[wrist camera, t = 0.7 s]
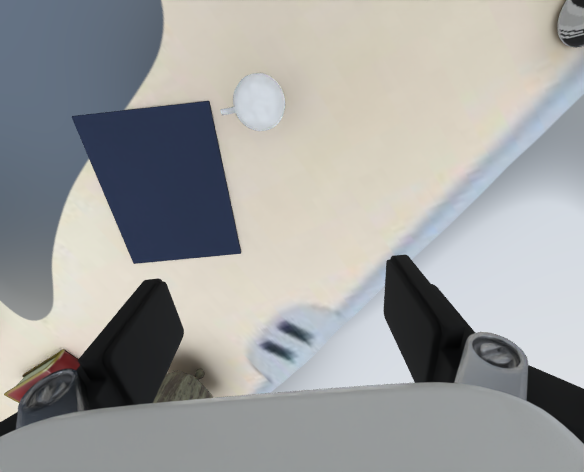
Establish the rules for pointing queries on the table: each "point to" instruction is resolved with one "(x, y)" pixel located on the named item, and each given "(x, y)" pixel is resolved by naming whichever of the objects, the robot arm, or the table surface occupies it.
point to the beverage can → (572, 23)
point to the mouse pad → (163, 180)
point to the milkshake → (258, 102)
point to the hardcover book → (42, 373)
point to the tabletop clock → (182, 387)
